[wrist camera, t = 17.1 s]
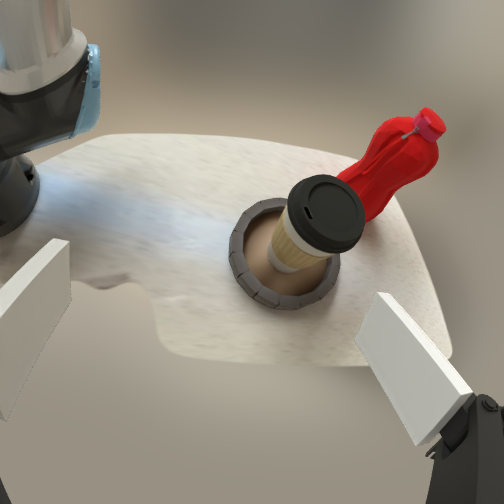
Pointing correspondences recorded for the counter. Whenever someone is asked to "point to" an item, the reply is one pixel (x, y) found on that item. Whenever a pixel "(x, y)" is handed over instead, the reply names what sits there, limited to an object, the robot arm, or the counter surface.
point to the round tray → (262, 271)
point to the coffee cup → (316, 223)
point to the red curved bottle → (395, 159)
